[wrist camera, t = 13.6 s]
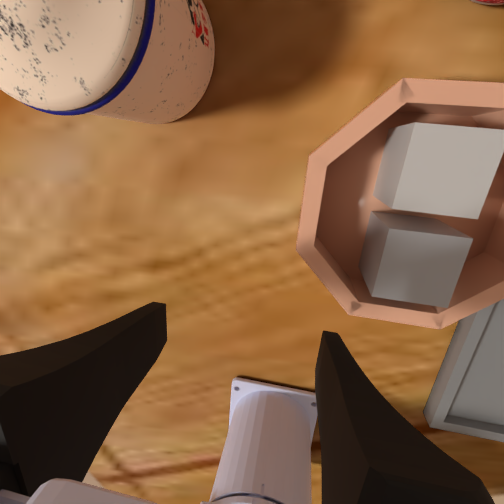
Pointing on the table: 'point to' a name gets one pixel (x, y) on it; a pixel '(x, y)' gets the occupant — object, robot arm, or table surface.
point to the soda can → (489, 2)
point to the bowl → (363, 202)
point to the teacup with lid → (107, 56)
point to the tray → (472, 378)
